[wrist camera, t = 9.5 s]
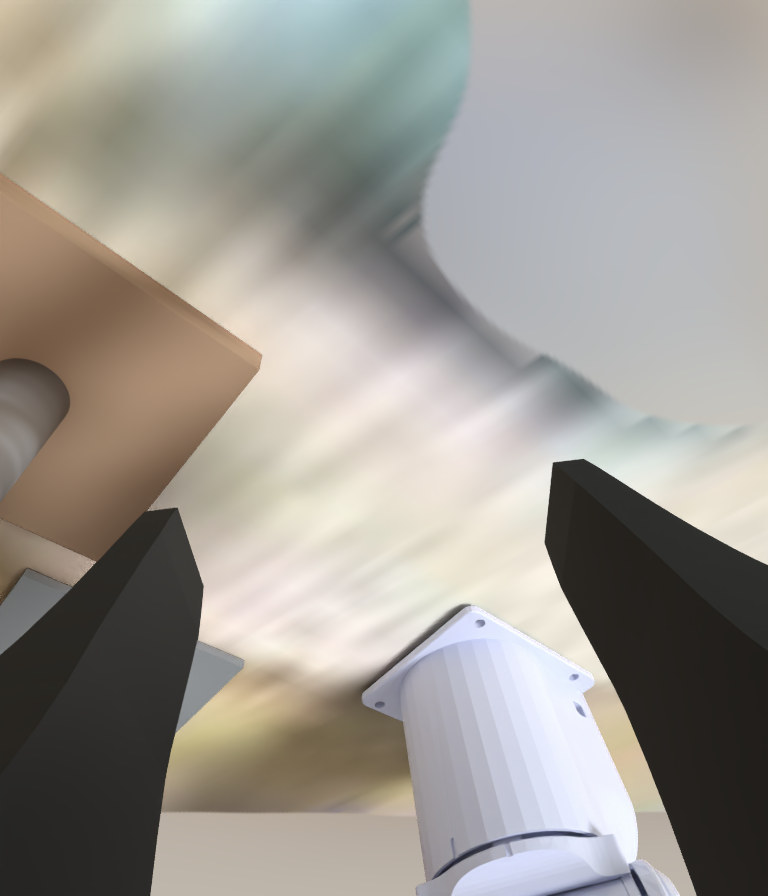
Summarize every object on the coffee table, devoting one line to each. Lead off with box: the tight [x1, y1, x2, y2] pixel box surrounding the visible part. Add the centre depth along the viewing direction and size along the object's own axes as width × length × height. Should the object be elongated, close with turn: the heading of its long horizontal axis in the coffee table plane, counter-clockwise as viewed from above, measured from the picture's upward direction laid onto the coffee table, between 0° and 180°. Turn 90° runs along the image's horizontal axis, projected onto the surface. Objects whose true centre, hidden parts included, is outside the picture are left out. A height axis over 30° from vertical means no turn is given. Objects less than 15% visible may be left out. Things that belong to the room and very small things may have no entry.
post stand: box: [0, 173, 262, 561], centre depth 16 cm, size 10×10×6 cm
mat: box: [0, 568, 244, 733], centre depth 26 cm, size 10×10×1 cm
